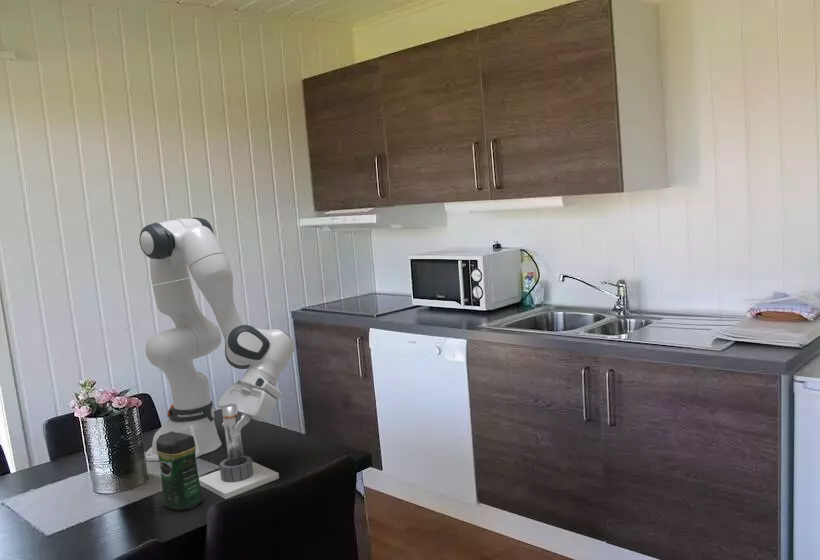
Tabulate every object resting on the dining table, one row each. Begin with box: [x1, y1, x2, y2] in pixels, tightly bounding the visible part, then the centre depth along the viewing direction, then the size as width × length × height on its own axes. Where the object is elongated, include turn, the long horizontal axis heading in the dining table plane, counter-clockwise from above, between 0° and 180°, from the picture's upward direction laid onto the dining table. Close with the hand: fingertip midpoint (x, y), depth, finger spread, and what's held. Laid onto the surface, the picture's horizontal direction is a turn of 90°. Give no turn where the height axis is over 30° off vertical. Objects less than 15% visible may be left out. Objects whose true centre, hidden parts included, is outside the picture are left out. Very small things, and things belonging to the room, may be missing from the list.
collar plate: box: [198, 455, 280, 500], centre depth 190 cm, size 16×16×6 cm
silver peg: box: [221, 404, 244, 459], centre depth 188 cm, size 4×4×14 cm
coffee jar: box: [156, 431, 203, 511], centre depth 177 cm, size 10×8×19 cm
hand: (230, 429), depth 188 cm, fingers closed on silver peg, 4 cm apart
